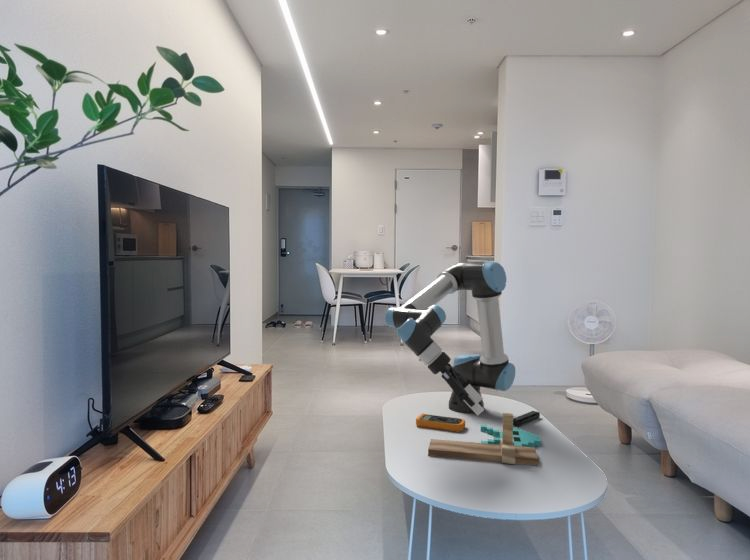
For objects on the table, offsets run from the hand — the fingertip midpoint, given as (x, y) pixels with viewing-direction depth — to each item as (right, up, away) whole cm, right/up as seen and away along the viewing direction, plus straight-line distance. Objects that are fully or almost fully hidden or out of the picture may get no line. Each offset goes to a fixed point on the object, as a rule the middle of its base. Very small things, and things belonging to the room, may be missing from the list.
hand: (480, 406), depth 161 cm
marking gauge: (+8, -16, -3) cm, 18 cm away
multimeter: (-9, -15, +29) cm, 34 cm away
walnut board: (0, -16, 0) cm, 16 cm away
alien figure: (+13, -16, +14) cm, 25 cm away
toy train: (+26, -16, +36) cm, 47 cm away
